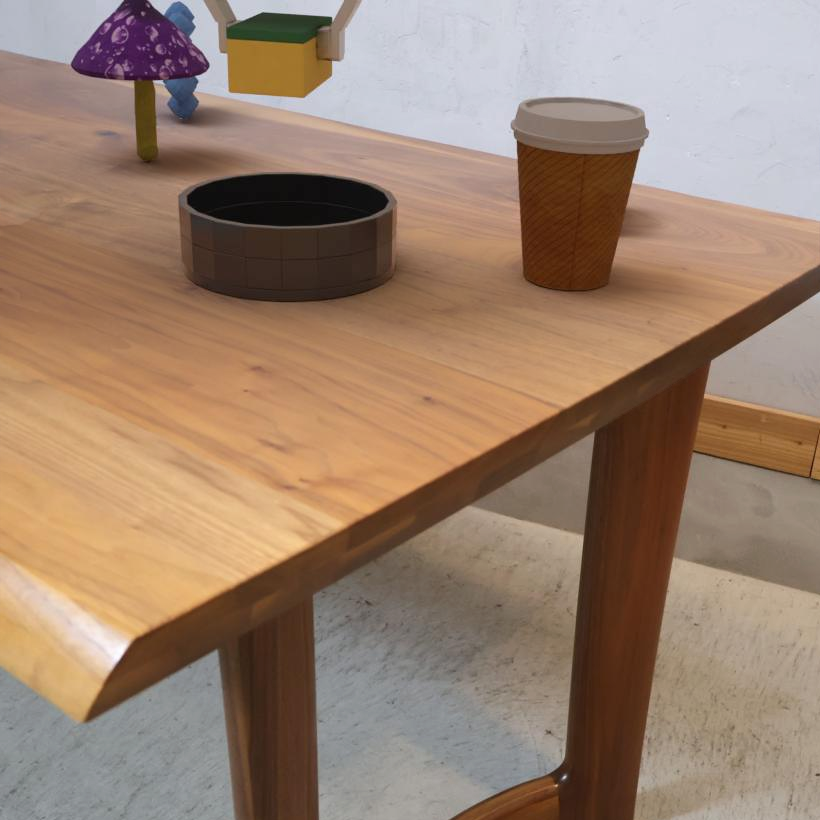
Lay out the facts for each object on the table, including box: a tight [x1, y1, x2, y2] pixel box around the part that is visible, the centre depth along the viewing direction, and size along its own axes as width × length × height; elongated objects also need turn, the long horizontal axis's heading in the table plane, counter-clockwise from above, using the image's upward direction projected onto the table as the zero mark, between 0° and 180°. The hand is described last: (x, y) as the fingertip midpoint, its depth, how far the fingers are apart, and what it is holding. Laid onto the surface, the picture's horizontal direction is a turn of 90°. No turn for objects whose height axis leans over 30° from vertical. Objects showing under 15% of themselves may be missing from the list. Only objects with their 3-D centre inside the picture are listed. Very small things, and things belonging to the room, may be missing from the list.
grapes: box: [162, 0, 200, 120], centre depth 126 cm, size 12×7×12 cm, turn 10°
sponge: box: [226, 11, 333, 99], centre depth 69 cm, size 4×8×4 cm, turn 174°
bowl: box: [177, 171, 398, 302], centre depth 82 cm, size 15×15×5 cm
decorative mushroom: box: [70, 0, 211, 162], centre depth 106 cm, size 12×12×15 cm
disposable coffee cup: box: [510, 96, 650, 291], centre depth 81 cm, size 10×10×12 cm
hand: (281, 56), depth 69 cm, fingers closed on sponge, 4 cm apart
